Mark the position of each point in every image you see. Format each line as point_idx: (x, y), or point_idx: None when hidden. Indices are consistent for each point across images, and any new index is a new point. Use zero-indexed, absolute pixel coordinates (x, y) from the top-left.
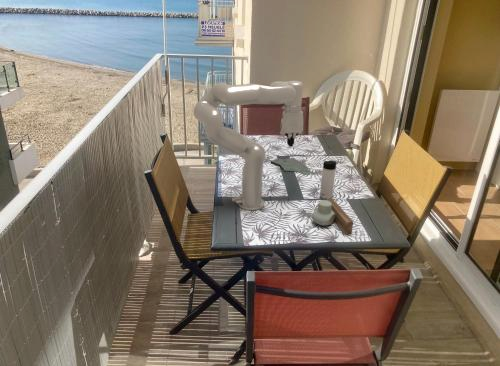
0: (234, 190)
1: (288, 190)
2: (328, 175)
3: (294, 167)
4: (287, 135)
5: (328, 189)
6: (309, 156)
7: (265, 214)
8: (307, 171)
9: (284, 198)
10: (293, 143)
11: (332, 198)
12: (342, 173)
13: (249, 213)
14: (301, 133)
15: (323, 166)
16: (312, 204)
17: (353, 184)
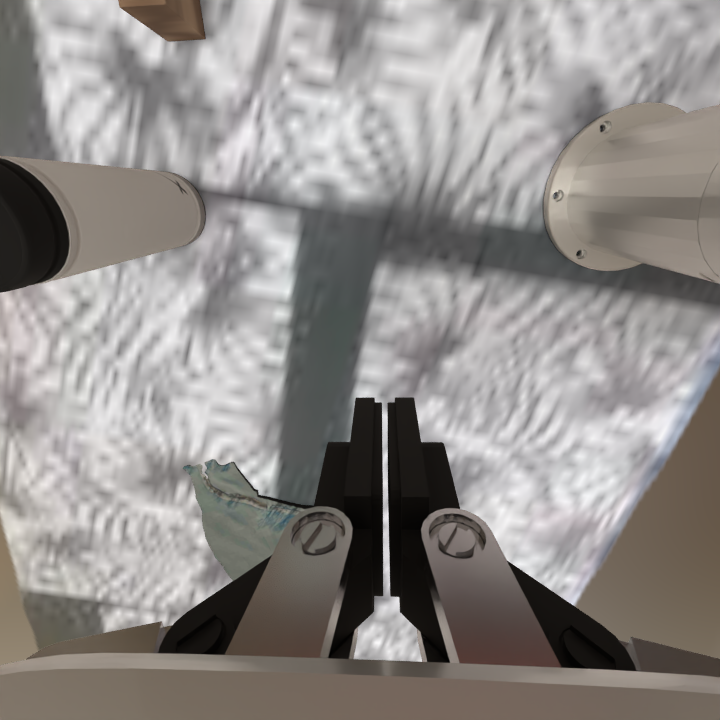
0: (632, 370)
1: (355, 325)
2: (60, 164)
3: (264, 530)
4: (524, 613)
5: (128, 168)
6: (175, 607)
7: (594, 39)
8: (212, 490)
9: (405, 238)
10: (337, 444)
11: (119, 5)
12: (49, 450)
13: (686, 72)
14: (57, 644)
15: (59, 230)
16: (266, 133)
17: (3, 335)
